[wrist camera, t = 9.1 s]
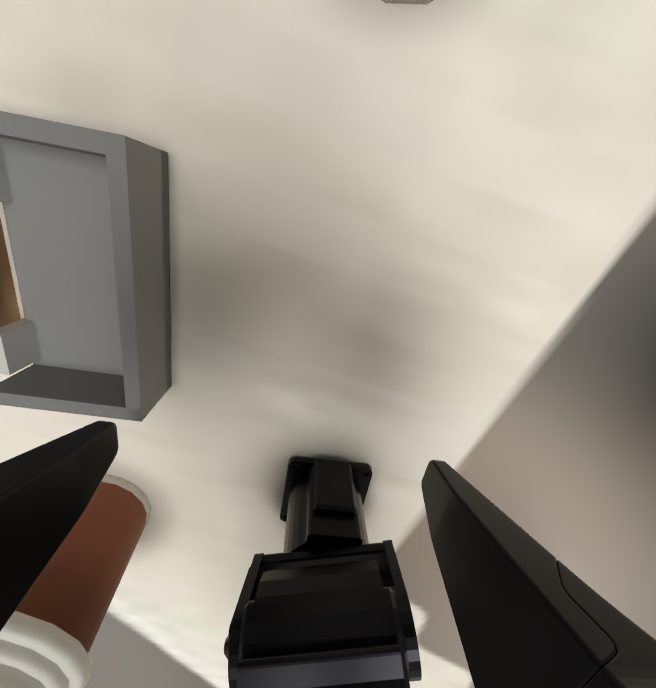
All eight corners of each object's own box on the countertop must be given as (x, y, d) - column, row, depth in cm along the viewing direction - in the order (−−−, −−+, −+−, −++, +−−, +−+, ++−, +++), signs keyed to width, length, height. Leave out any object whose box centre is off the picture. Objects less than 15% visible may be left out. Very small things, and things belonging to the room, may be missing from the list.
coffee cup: (163, 465, 24) (35, 677, 13) (171, 545, 28) (75, 766, 17) (37, 456, 24) (-209, 672, 13) (61, 540, 27) (-115, 767, 16)
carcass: (171, 385, 22) (141, 421, 18) (-29, 359, 20) (-104, 392, 17) (167, 152, 16) (125, 135, 13) (-101, 99, 15) (-235, 64, 12)
